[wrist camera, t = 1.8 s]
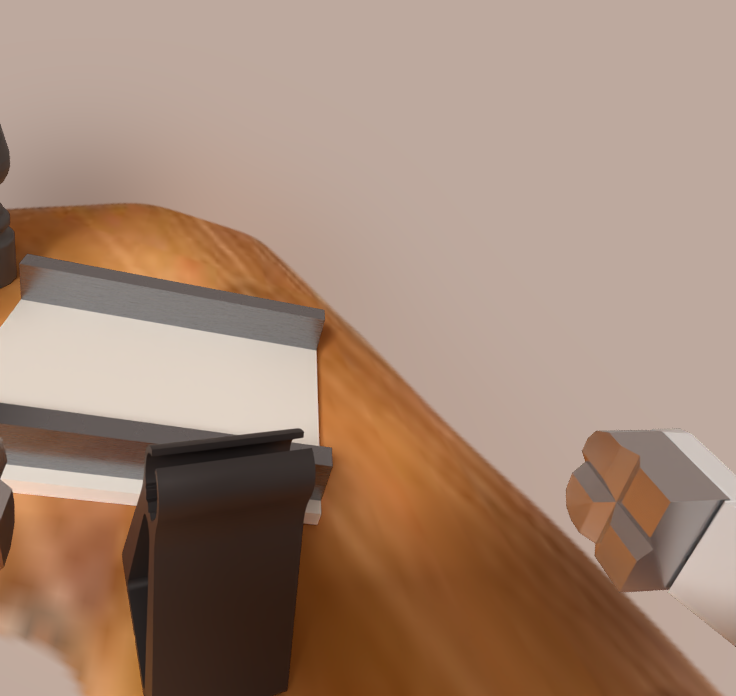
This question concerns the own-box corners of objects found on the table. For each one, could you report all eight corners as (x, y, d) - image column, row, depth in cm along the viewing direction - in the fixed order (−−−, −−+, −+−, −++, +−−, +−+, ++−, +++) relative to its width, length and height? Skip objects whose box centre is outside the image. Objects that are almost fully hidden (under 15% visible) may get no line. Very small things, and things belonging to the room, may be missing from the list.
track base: (-101, 480, 31) (-104, 467, 30) (34, 293, 46) (33, 282, 46) (317, 524, 36) (321, 514, 35) (313, 342, 51) (315, 333, 51)
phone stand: (122, 556, 31) (135, 377, 24) (236, 535, 34) (275, 369, 27) (148, 740, 25) (176, 567, 18) (285, 694, 28) (352, 530, 21)
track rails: (-93, 453, 31) (-102, 410, 29) (28, 289, 45) (27, 253, 43) (320, 500, 36) (332, 466, 34) (315, 340, 50) (324, 310, 48)
